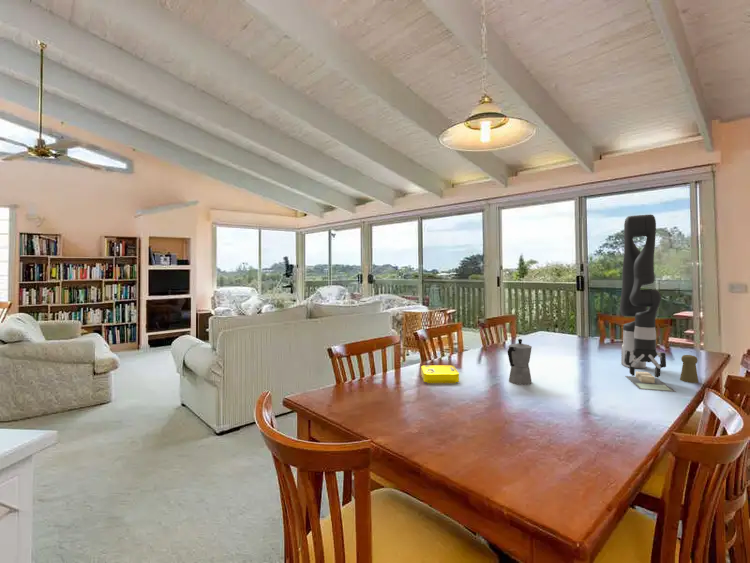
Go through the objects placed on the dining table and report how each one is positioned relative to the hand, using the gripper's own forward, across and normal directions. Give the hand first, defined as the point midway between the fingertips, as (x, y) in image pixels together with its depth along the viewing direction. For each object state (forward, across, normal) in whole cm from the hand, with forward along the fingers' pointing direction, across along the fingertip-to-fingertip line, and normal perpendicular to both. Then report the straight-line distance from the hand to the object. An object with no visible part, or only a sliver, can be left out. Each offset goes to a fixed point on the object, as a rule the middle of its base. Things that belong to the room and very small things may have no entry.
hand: (644, 376), depth 162 cm
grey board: (+2, 0, -5) cm, 5 cm away
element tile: (+3, -82, -20) cm, 85 cm away
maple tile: (+2, 0, 0) cm, 2 cm away
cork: (+2, +17, +4) cm, 18 cm away
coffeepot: (+3, -50, -16) cm, 52 cm away
